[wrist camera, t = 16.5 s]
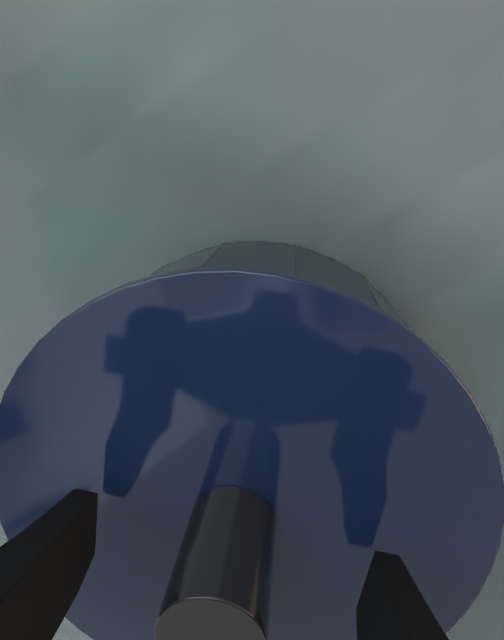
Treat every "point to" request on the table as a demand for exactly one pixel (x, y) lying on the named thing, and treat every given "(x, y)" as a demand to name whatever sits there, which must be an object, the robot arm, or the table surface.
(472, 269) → the table surface
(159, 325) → the lid
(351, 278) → the pot
